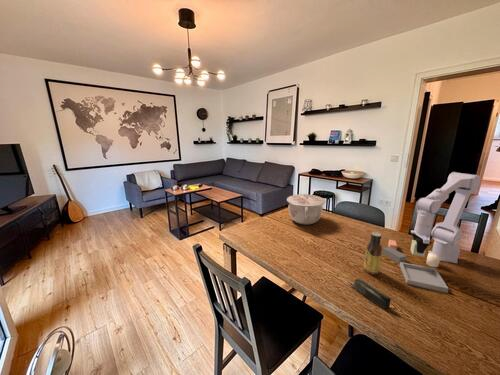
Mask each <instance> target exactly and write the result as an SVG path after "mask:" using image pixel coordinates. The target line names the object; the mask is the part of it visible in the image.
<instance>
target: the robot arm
mask: <svg viewBox="0 0 500 375" xmlns="http://www.w3.org/2000/svg"><path fill="white" fill-rule="evenodd" d="M481 181H482V180H481V176H480V175H478V174H471V173H461V172H457V171H452V172H451V173H449V175H448V177H447V181H446V183H445V184H443V186H441V187H440V188H436V189H434V190H433V191H432V192H431V193H430V194H428V195H427V196H425V197H420V198H419V199H418V200H417V202H416V204H415V207H416V213H417V215H416V221H415V226H414V228H413V229H414V230H410V233H411V235H412V240H416V242H417V253H422V254H423V253H424V251H425V249H426V250H427V248H428V247H429V246H430V245H432V240H434V242H433V246H432V249H431V250H428V251H427V252H428V253H434V254H437V255H439V256H440V257H441V258H440V261H441V262H442V261H443V262H447V263H453V264H458V263H459V262H458V259H459V257H460V256H459V255H460V253H461V247H460V244H459V243H460V242H461V239H462V236H463V235H462V234H463V231H462V230H461V229H460V227H459V226H458V225H459V221H460V219H461V216H462V215H463V212H464V210H465V207H466V205H467V202H468V201H469V198H470V197H471V195H473V194H476V193H477V191H478V189H479V187H480V186H481V183H482V182H481ZM454 191H455V194H454V197H453V199H452V202H451V204H450V206H449V208H448V211H447V213H446V215H445V217H444V220H443V221H441V222H437V223H436V224H435V226H434V227H433V222H434V217H435V214H436V213H438V211H439V210H440V208H441V207H442V204H443V203H444V202H446V200H448V199H449V196H450V194H451V193H452V192H454ZM432 227H433V228H432ZM431 237H432V240H431Z"/></svg>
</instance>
